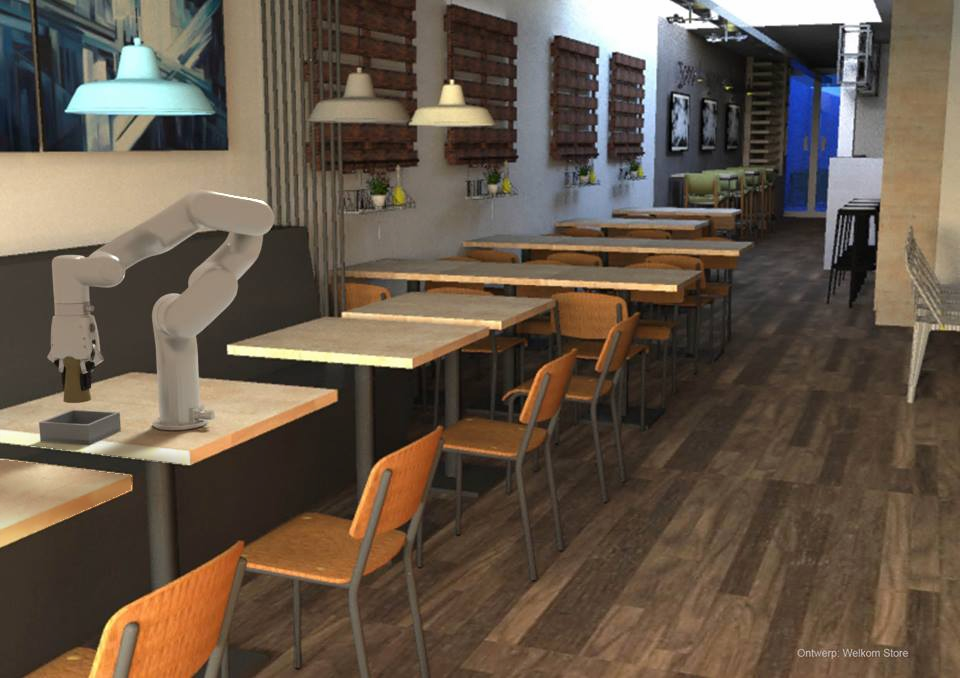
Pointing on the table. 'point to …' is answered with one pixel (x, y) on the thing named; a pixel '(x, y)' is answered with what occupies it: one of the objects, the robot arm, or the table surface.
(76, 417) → the box
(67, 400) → the cork
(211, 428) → the table surface
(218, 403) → the table surface
